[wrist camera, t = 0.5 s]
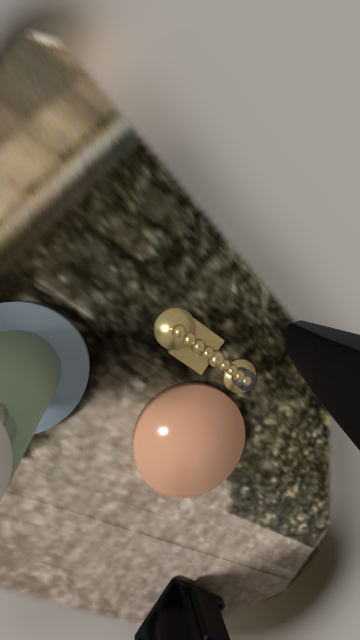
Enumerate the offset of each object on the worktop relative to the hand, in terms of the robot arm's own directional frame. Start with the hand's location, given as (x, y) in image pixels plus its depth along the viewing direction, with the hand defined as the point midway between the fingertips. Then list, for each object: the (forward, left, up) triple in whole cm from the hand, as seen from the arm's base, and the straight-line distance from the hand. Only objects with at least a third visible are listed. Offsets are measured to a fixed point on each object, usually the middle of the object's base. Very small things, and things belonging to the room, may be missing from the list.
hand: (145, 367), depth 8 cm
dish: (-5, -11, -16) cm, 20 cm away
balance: (+2, -7, -16) cm, 18 cm away
